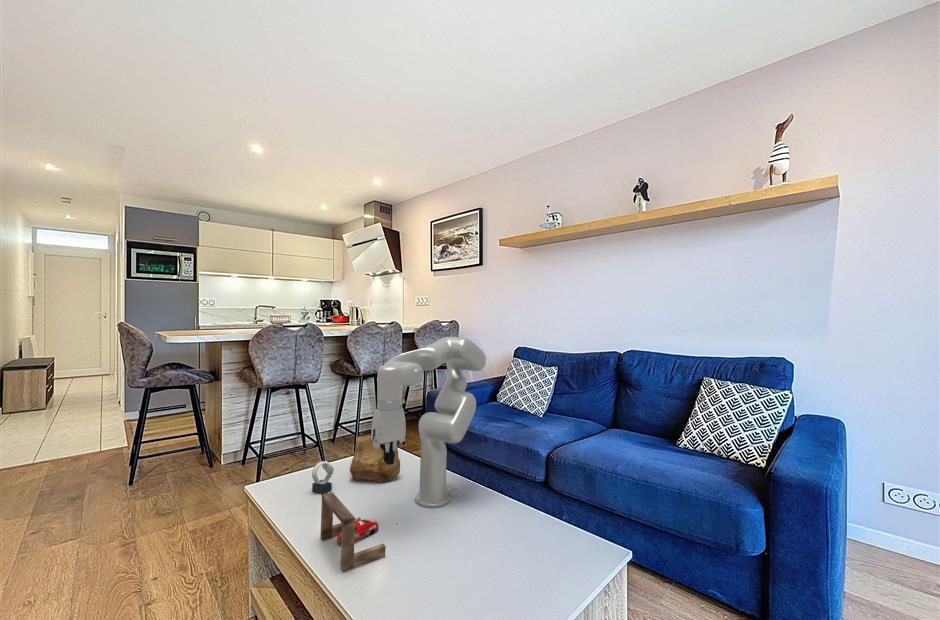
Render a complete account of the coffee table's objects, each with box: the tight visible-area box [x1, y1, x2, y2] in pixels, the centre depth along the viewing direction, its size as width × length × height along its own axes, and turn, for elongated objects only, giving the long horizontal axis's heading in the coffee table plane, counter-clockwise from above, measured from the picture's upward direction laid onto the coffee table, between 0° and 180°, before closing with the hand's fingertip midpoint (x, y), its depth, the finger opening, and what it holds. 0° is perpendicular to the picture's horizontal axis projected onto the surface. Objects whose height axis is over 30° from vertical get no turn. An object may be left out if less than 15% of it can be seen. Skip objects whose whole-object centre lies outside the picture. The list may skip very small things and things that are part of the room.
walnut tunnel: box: [319, 491, 387, 573], centre depth 115 cm, size 12×19×13 cm, turn 37°
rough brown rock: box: [349, 435, 401, 483], centre depth 165 cm, size 23×17×15 cm
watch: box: [311, 460, 335, 496], centre depth 151 cm, size 6×8×11 cm
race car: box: [336, 518, 379, 546], centre depth 121 cm, size 13×5×4 cm, turn 139°
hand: (389, 463), depth 125 cm, fingers closed
